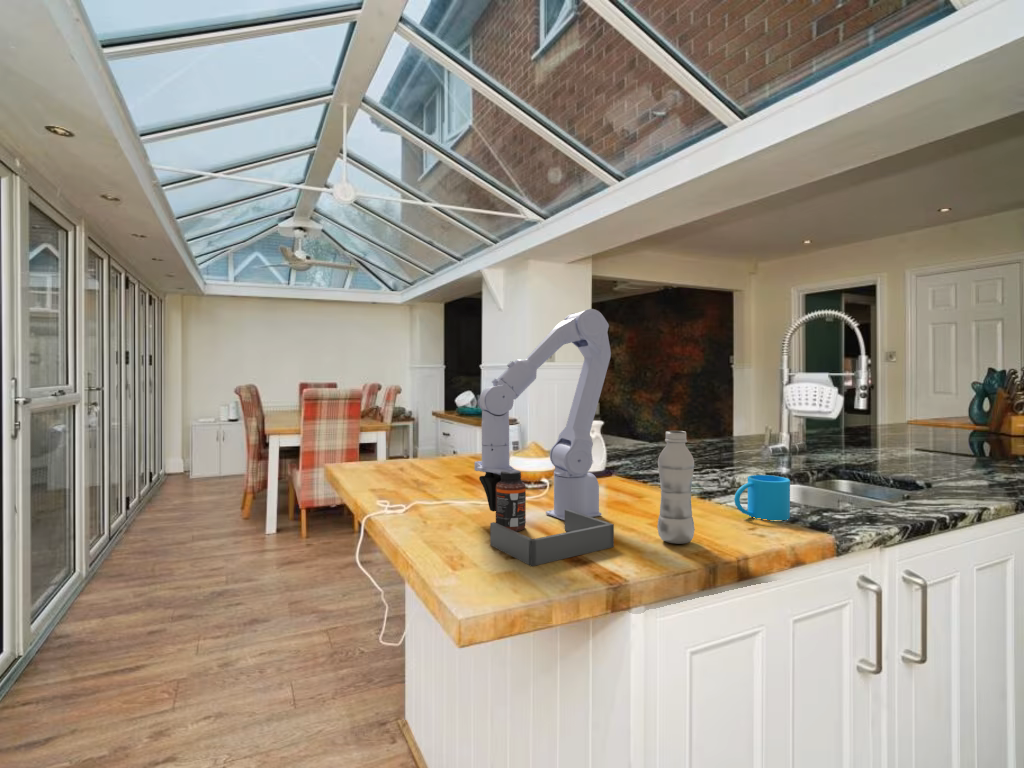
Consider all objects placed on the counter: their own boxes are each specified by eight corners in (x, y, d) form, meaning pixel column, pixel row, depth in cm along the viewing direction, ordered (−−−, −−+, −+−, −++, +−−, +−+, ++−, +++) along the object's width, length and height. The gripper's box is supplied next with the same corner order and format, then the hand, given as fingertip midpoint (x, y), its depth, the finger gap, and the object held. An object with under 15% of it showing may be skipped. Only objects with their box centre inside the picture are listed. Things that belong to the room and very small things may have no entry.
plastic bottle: (694, 538, 100) (695, 430, 100) (694, 549, 94) (694, 434, 94) (658, 535, 103) (658, 429, 102) (655, 546, 96) (656, 433, 96)
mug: (772, 511, 121) (772, 474, 121) (798, 520, 113) (799, 481, 113) (723, 513, 119) (723, 476, 118) (746, 523, 111) (747, 483, 110)
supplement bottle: (522, 533, 104) (522, 474, 104) (492, 531, 105) (492, 473, 105) (528, 525, 110) (528, 469, 110) (499, 523, 111) (499, 468, 111)
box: (567, 529, 106) (567, 509, 106) (613, 546, 96) (613, 524, 96) (490, 545, 97) (490, 522, 97) (531, 566, 86) (531, 541, 86)
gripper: (461, 442, 116) (462, 505, 116) (497, 450, 104) (497, 520, 104) (490, 440, 120) (490, 501, 120) (527, 447, 108) (527, 515, 108)
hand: (495, 510), depth 112 cm, fingers closed
